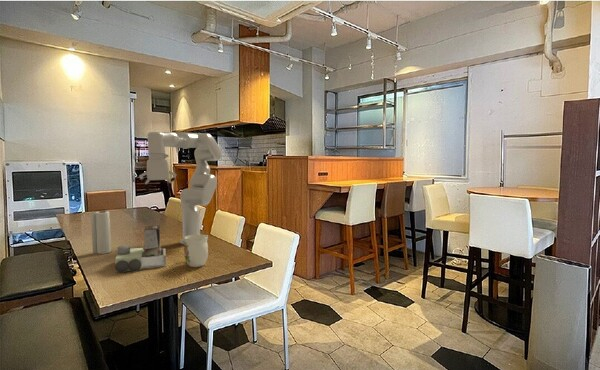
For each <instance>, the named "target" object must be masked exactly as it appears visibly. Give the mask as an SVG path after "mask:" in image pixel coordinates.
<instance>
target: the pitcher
mask: <svg viewBox="0 0 600 370" xmlns="http://www.w3.org/2000/svg"><path fill="white" fill-rule="evenodd" d="M207 235H208V234H201V233H200V234H196V235H189V236H186V237H184V239H185V245H184V246H183V256H184V258H185V262H186V263H187V265H188V267H190V268H199V267H203V266H204V265H205V264H206V262H207V260H208V257H209V243H208V239H209V235H208V236H207Z"/></svg>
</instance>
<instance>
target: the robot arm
mask: <svg viewBox="0 0 600 370" xmlns="http://www.w3.org/2000/svg"><path fill="white" fill-rule="evenodd" d="M167 147H168V148H180V149H185V148H186V149H188V148H189V149H191V148H192V149H194V148H195V150H194V153H193V154H194V159H195V162H196V165H195V166H196V167H195V170H194V171H193V174H192V176H191V178H190V179H189V180H190V181H189V187H190V188H188V187H187V188H185V189H182V190H181V192H180V195H179V199H180V204H181V212H182V214H181V216H182V218H181V219H182V239H180V241H179V244H180V245H184V246H185V239H184V237H186V236H189V235H196V234H201V228H200V227H201V224H200V223H201V219H200V217H201V215H200V209H199V207H198V206H202V207H203V206H204V207H205V206H208V205H209V204H210V202H211V200H212V198H213V196H214V193H215V191H216V188H217V187H218V186H217V185H218V179H217V177H216V176H215V175H214V174H212V173H210V172H211V167H210V165H209V164H208V162H210V161H211V162H216V161H219V160H221V158H222V155H223V154H222V149H221V147H220V146H219V144H218V143H217V141H216V139H215V138H214V136H212V135H211V134H210V133H208V132H206V133H205V132H204V133H203V132H201V133H197V132H196V133H195V132H194V133H193V132H184V131H183V132H182V131H181V132H178V131H177V132H173V131H149V132H148V133H147V148H148V159H147V161H146V171H145V172H143V173H141V174H139V175H138V178H139V179H140V180H141V182H142V183H144V184H145V190H146V191H147V193H150V184H149V182H151V181H167V185H168V187H167V188H168V192H170V191H171V190H172V183H173V182H174V181H175V180H176V177H177V175H178V174H177V173H175V172H173V171H170V170H169V162H168V159H166V158H168V157H169V154H166V148H167ZM170 175H171V176H172V177H171V179H170ZM145 176H146V178H147V179H144V177H145ZM206 235H207V236H208V237H209V235H208V234H206Z"/></svg>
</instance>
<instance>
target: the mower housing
mask: <svg viewBox="0 0 600 370" xmlns="http://www.w3.org/2000/svg"><path fill="white" fill-rule="evenodd" d="M143 250H144V247H137V248H135V247H134V248H131V246H130V245H125V244H124V245H120V246H117V254H116V256H115V266H114V269H115V273H119V274H123V273H126V272H138V271H139V270H140V271H141V270H143V269H142V263H141V257H143Z"/></svg>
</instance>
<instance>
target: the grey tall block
mask: <svg viewBox="0 0 600 370" xmlns="http://www.w3.org/2000/svg"><path fill="white" fill-rule="evenodd" d="M90 219H91V220H90V221H91V239H92V254H96V253H97V254H98V255H104V254H109V253H111V252H112V249H111V248H112V244H111V243H112V242H111V241H112V240H111V220H110V219H111V218H110V211H108V210H107V211H105V210H103V211H94V212H90Z"/></svg>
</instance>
